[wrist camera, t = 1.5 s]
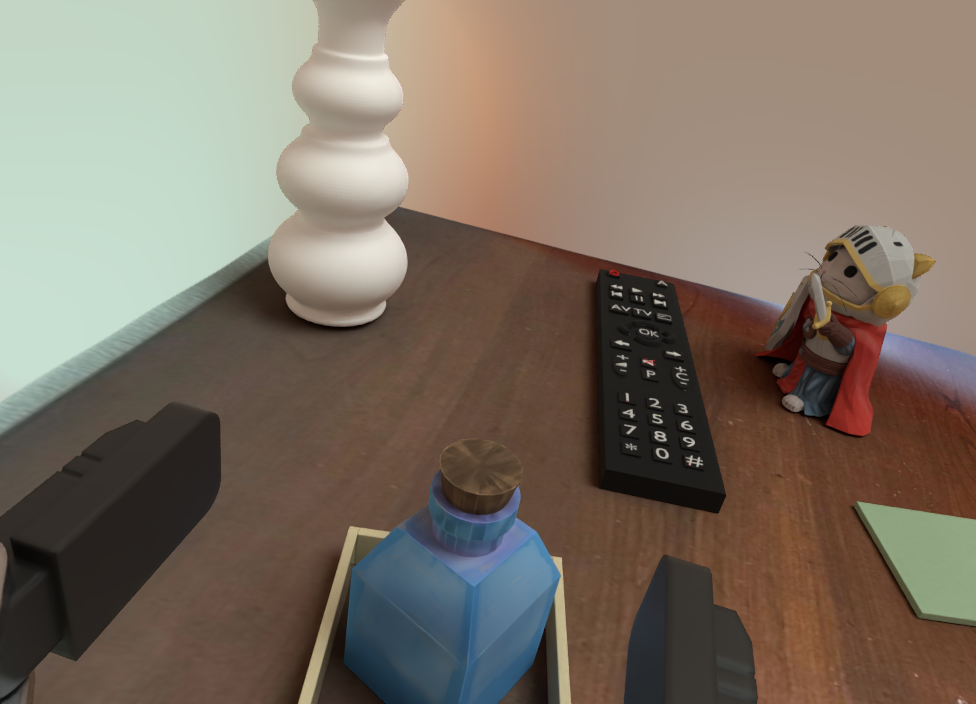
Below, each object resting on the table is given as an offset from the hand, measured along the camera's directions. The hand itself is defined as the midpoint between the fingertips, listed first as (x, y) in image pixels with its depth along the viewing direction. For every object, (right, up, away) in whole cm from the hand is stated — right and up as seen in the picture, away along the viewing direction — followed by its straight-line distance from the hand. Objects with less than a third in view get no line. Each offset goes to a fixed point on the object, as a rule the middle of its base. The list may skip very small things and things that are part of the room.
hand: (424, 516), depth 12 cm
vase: (-12, +6, +47) cm, 49 cm away
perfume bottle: (-1, -12, +20) cm, 23 cm away
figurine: (+28, -1, +48) cm, 55 cm away
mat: (+30, -11, +31) cm, 45 cm away
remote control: (+14, +1, +46) cm, 48 cm away
